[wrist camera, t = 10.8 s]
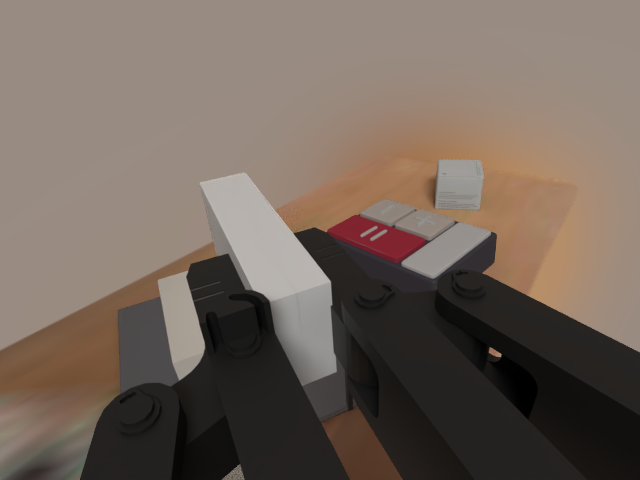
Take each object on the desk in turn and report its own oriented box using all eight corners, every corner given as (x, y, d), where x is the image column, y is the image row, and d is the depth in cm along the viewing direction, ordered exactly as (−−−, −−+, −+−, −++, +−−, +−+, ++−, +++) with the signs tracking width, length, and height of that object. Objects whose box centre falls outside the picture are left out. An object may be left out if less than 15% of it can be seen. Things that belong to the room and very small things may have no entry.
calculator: (384, 194, 52) (499, 226, 42) (386, 224, 54) (496, 262, 44) (319, 229, 46) (434, 276, 36) (324, 261, 48) (434, 315, 38)
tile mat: (127, 510, 26) (124, 506, 25) (119, 313, 42) (117, 310, 42) (381, 394, 31) (381, 389, 31) (287, 260, 47) (286, 257, 47)
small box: (480, 211, 53) (484, 176, 51) (433, 210, 55) (435, 175, 52) (477, 192, 58) (481, 158, 55) (435, 191, 59) (436, 158, 57)
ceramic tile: (172, 363, 31) (157, 279, 41) (181, 387, 33) (165, 301, 42) (285, 322, 34) (246, 253, 44) (289, 346, 35) (250, 273, 45)
